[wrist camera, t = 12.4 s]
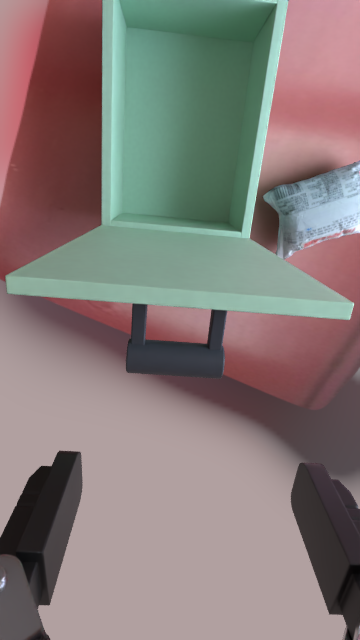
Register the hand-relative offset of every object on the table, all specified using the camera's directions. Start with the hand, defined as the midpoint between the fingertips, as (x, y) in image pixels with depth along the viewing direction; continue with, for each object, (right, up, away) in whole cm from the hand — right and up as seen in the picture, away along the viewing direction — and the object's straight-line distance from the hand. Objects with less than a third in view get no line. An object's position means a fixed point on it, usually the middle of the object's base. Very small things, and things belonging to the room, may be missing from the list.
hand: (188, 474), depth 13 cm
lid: (0, +11, +11) cm, 16 cm away
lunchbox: (0, +27, +27) cm, 38 cm away
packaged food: (+16, +19, +30) cm, 39 cm away
